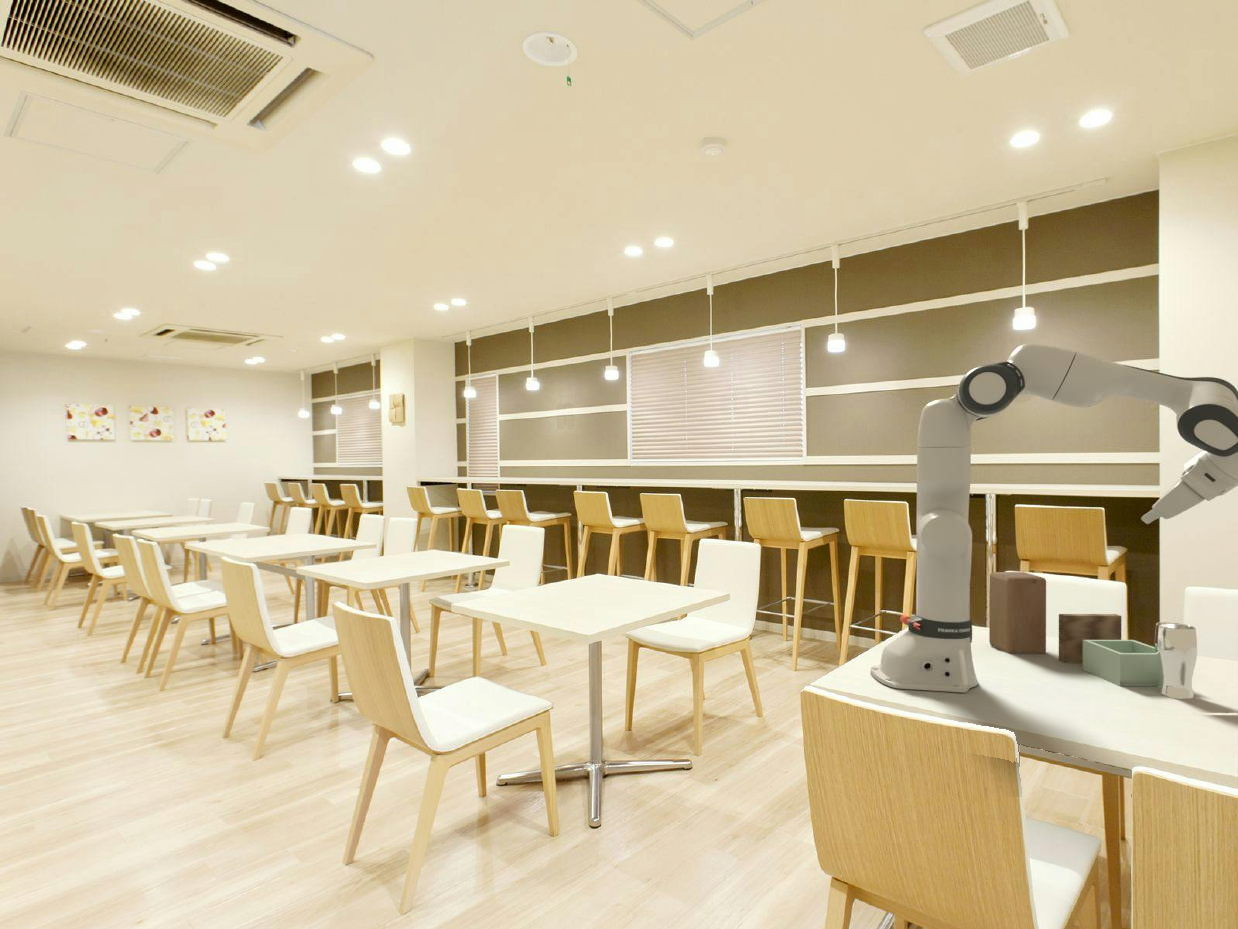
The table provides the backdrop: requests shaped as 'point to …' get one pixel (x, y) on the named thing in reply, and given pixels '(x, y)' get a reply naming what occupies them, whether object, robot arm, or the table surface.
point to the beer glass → (1175, 659)
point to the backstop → (1085, 633)
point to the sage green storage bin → (1121, 662)
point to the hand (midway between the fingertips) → (1150, 514)
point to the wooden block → (1017, 612)
